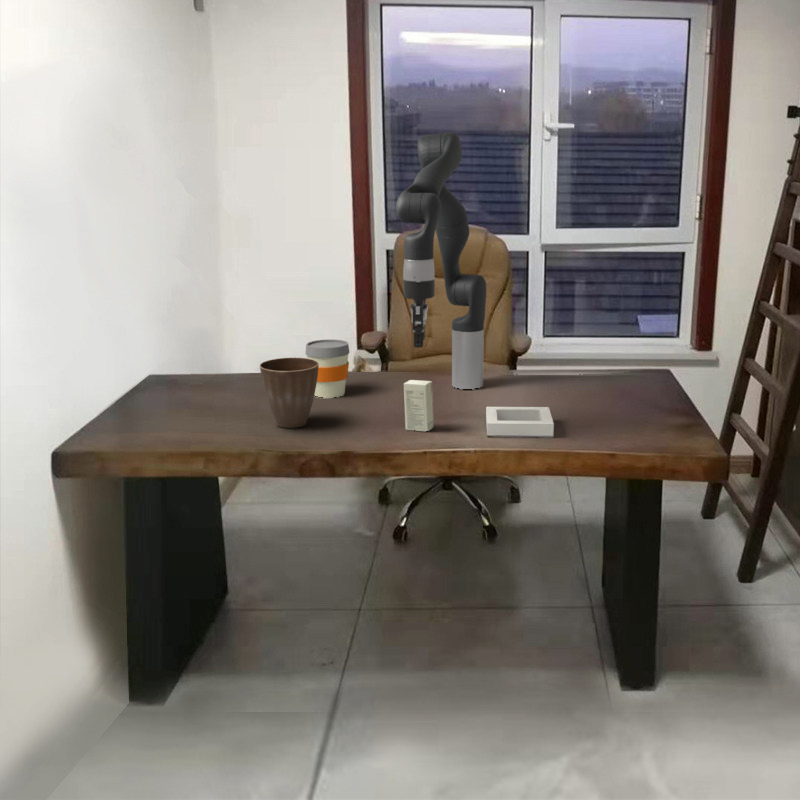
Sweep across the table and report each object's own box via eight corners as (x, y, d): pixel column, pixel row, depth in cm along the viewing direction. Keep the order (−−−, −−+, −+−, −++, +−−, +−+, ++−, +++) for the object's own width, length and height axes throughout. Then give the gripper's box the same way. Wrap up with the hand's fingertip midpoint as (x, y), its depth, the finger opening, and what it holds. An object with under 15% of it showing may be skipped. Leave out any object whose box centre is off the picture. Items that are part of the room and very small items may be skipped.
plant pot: (332, 420, 236) (330, 360, 232) (299, 435, 224) (296, 373, 219) (285, 413, 243) (282, 355, 239) (251, 428, 231) (247, 367, 226)
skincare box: (434, 427, 228) (433, 381, 225) (427, 432, 225) (427, 385, 221) (410, 425, 231) (410, 378, 228) (403, 429, 227) (403, 382, 224)
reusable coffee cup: (354, 389, 267) (352, 339, 263) (346, 400, 255) (344, 348, 251) (312, 388, 269) (310, 339, 265) (302, 399, 257) (300, 347, 253)
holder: (486, 419, 235) (486, 406, 234) (548, 420, 233) (548, 407, 233) (487, 437, 220) (487, 423, 219) (553, 437, 219) (553, 423, 218)
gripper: (405, 273, 225) (406, 337, 229) (401, 281, 211) (402, 349, 215) (435, 273, 224) (435, 338, 229) (433, 281, 211) (433, 349, 215)
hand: (419, 343), depth 222 cm, fingers open, 8 cm apart
